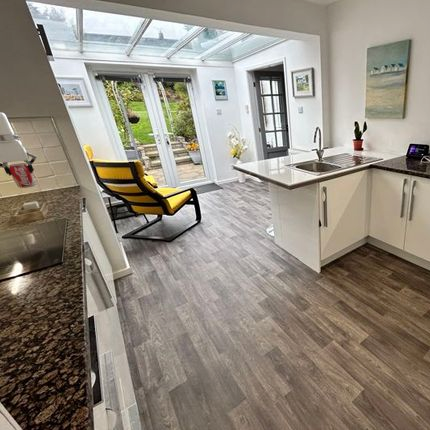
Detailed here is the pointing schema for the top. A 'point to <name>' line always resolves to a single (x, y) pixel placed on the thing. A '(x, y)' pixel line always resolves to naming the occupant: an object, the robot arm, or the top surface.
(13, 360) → the top surface
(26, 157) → the robot arm
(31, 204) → the block
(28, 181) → the soda can
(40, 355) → the top surface
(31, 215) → the rack
